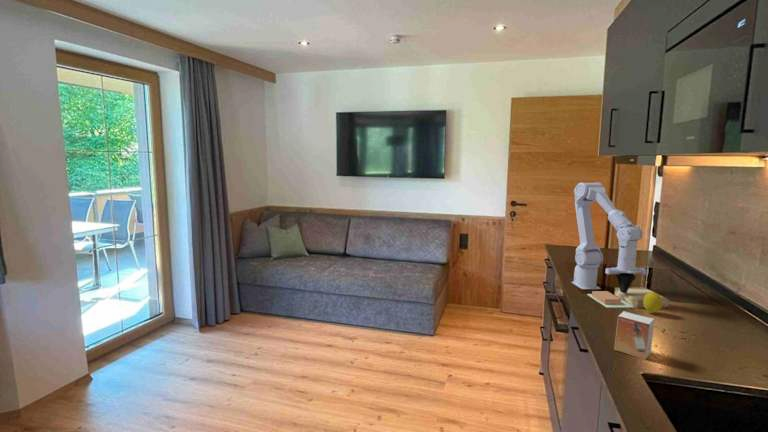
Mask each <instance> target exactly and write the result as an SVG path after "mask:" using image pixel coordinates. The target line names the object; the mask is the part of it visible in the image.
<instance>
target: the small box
mask: <svg viewBox="0 0 768 432" xmlns="http://www.w3.org/2000/svg"><path fill="white" fill-rule="evenodd" d="M655 321H656V320H655V318H653V317H648V316H644V315H639V314H635V313H632V312H628V311H624V310H623V311H622V312H621V313H619V314H618V316H617V323H616V330H615V341H614V349H613V350H614V351H617V352H620V353H623V354H627V355H629V356H633V357H636V358H639V359H642V360H647V358H648V357H649V356H650V354H651V352H652V343H653V337H654V336H653V335H654V329H655Z"/></svg>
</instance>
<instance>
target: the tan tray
mask: <svg viewBox="0 0 768 432" xmlns="http://www.w3.org/2000/svg"><path fill="white" fill-rule="evenodd" d="M650 292H653V290H651V289H648V288H646V287H629V288H628V291H627V293H622V292H621V291H620V287H614V294H613V295H615V296H616V297H618V298H620V299H622V300H623V301H625V302H627V303H628V304H630V305H632V306H633V307H634V308H636V309H645V307H644V305H643V300H644V297H645V295H646V294H648V293H650ZM657 294H658V295H660V294H659V293H657ZM660 297H661V299H662V307H661V309H667V308H666V307H670V299H668V298H666V297H664V296H663V295H660Z"/></svg>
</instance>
